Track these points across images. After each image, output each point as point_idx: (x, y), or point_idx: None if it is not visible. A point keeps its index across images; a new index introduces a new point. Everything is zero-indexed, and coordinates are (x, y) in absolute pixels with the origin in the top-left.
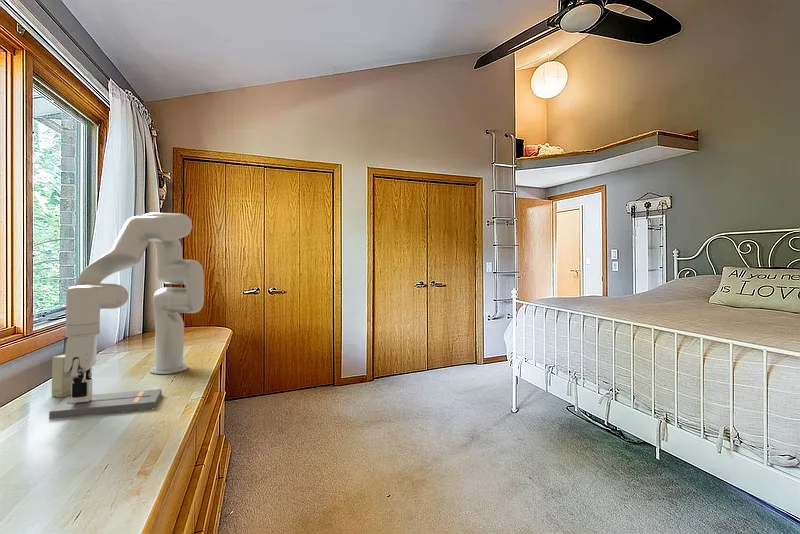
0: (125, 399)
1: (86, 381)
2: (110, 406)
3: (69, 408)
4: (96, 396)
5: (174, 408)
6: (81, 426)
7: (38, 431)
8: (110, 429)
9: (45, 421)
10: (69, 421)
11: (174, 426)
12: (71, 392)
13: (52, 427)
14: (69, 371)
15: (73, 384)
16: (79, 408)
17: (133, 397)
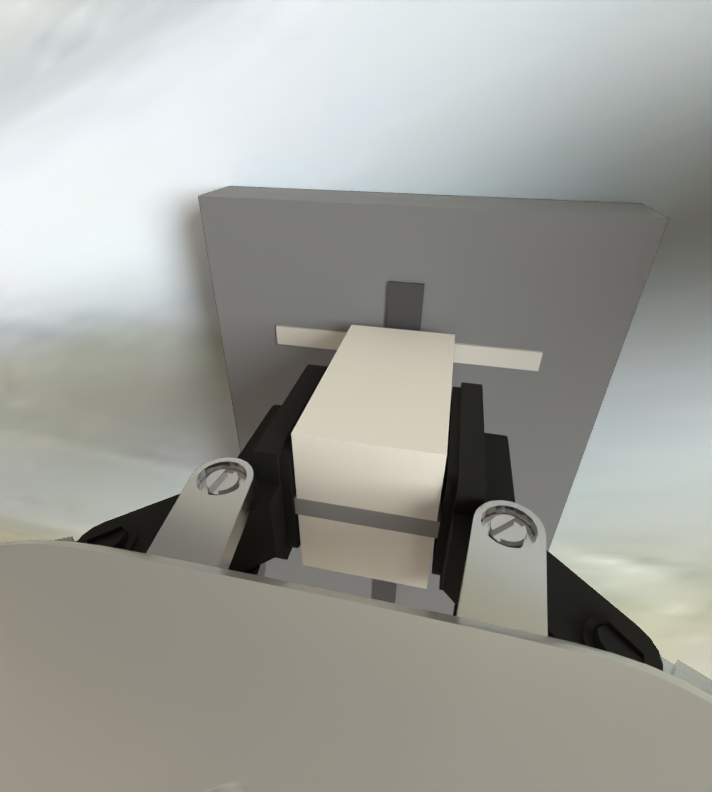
0: (355, 581)
1: (344, 548)
2: None
3: (250, 330)
4: (512, 457)
5: None
6: (98, 398)
7: (19, 197)
8: (68, 497)
9: (188, 174)
10: (172, 330)
11: None
12: (325, 374)
13: (82, 261)
14: (191, 563)
15: (260, 452)
16: (237, 391)
17: None
